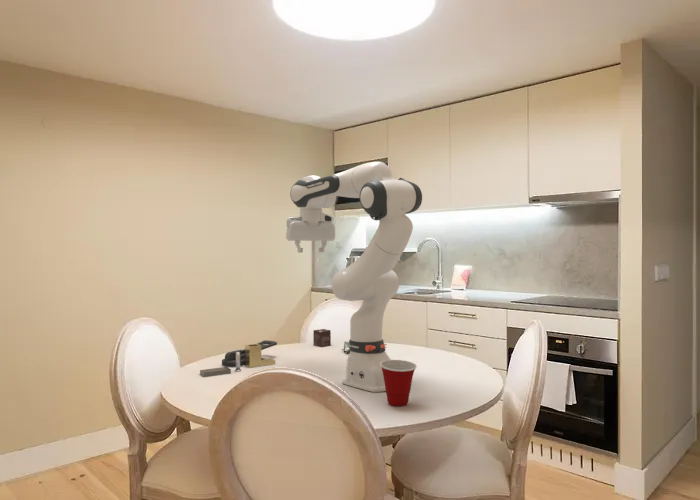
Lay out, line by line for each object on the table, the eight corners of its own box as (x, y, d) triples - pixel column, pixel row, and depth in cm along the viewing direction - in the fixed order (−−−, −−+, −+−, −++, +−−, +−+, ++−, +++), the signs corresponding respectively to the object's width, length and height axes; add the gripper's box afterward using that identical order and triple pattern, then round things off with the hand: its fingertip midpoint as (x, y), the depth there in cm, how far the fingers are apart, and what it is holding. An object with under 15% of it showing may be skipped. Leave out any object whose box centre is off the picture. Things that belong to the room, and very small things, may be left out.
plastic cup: (396, 411, 148) (396, 369, 148) (372, 402, 157) (372, 362, 157) (424, 405, 155) (424, 364, 155) (400, 396, 163) (399, 357, 163)
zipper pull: (279, 341, 223) (233, 351, 203) (279, 357, 223) (233, 368, 203) (264, 339, 228) (218, 348, 209) (264, 355, 228) (218, 365, 209)
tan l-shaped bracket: (270, 362, 214) (270, 342, 214) (275, 364, 209) (275, 344, 209) (245, 365, 208) (245, 345, 208) (249, 367, 204) (249, 347, 204)
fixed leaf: (243, 371, 197) (243, 353, 197) (203, 377, 190) (203, 357, 189) (238, 369, 201) (238, 350, 201) (200, 374, 194) (199, 355, 194)
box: (323, 344, 253) (323, 328, 253) (331, 345, 249) (331, 330, 249) (313, 345, 250) (313, 330, 249) (320, 347, 245) (320, 331, 245)
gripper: (290, 216, 200) (290, 252, 200) (337, 217, 211) (337, 252, 211) (283, 217, 206) (283, 252, 206) (329, 218, 216) (329, 252, 216)
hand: (311, 252), depth 208 cm, fingers open, 8 cm apart
